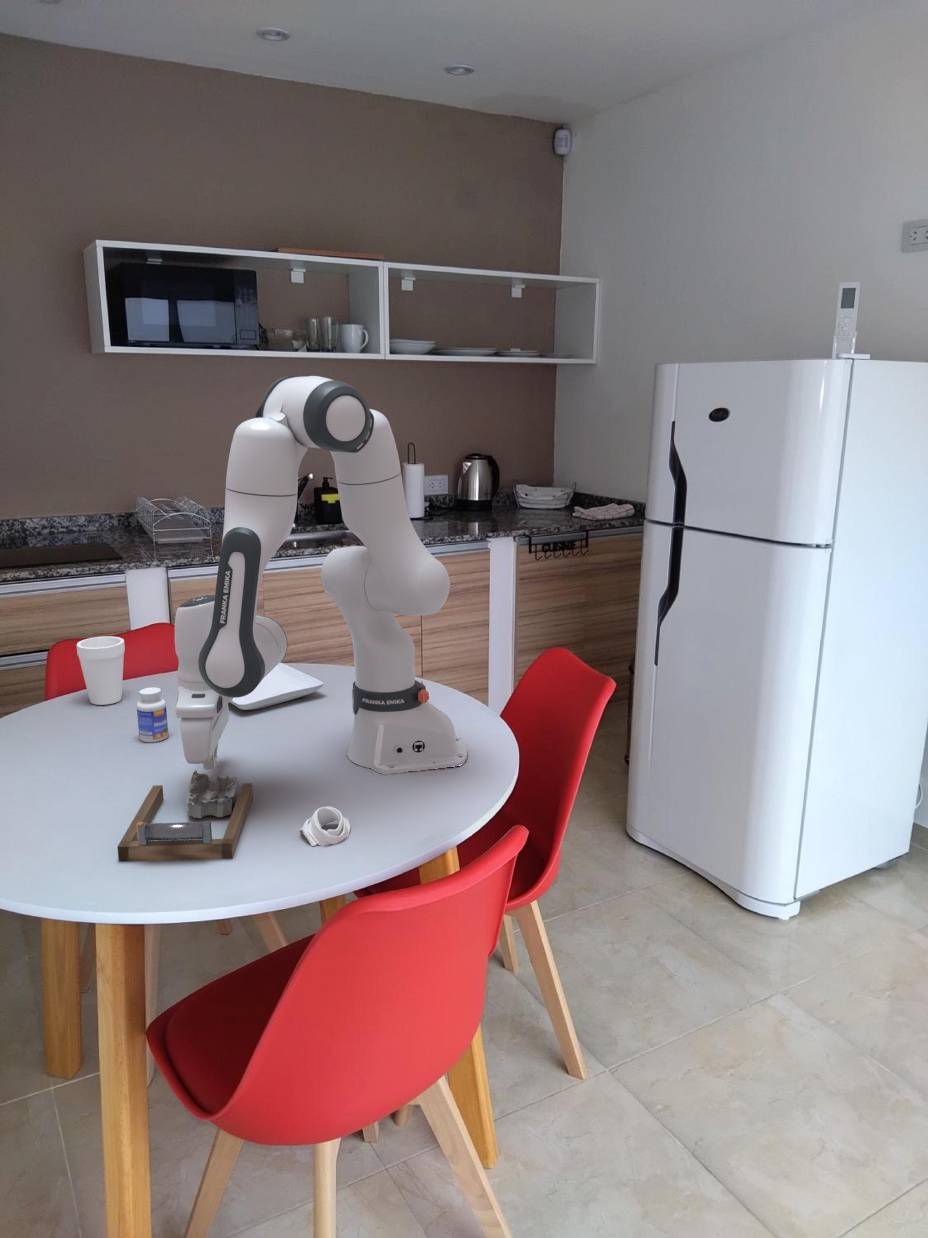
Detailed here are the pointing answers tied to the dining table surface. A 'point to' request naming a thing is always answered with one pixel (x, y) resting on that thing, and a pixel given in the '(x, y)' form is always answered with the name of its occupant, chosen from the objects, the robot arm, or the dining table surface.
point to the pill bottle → (152, 715)
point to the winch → (174, 831)
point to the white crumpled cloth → (322, 818)
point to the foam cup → (102, 668)
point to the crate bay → (183, 848)
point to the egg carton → (210, 795)
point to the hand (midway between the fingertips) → (210, 766)
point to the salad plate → (278, 688)
